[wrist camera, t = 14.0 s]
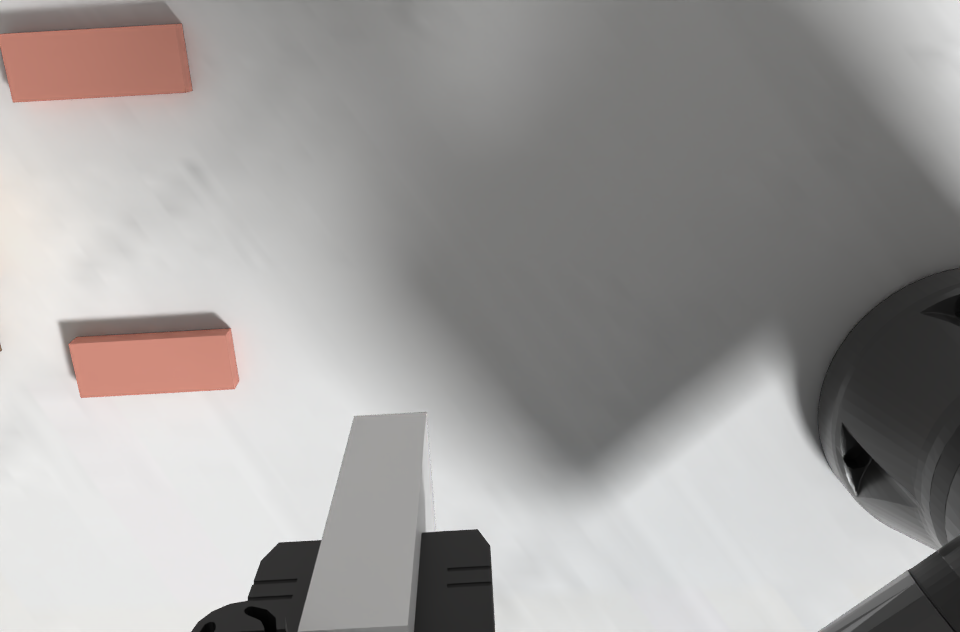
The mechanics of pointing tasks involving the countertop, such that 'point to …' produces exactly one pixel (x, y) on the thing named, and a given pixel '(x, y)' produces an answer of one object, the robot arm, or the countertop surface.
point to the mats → (111, 73)
